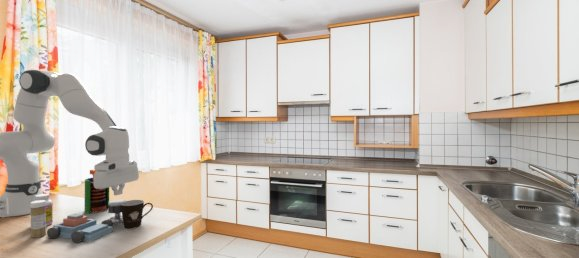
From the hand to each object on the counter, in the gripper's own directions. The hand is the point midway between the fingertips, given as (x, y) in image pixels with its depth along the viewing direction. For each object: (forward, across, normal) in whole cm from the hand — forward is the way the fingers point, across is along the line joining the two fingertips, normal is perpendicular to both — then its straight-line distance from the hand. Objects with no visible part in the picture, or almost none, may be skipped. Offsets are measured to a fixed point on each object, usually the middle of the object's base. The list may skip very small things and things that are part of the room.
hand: (118, 194), depth 122 cm
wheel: (+7, 0, 0) cm, 7 cm away
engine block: (+10, +14, -6) cm, 18 cm away
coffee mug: (+13, +1, +10) cm, 16 cm away
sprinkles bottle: (+12, +20, -17) cm, 29 cm away
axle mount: (+12, 0, 0) cm, 12 cm away
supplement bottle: (+12, +12, -28) cm, 32 cm away
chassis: (+12, +14, -4) cm, 19 cm away
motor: (+12, -10, -24) cm, 29 cm away
